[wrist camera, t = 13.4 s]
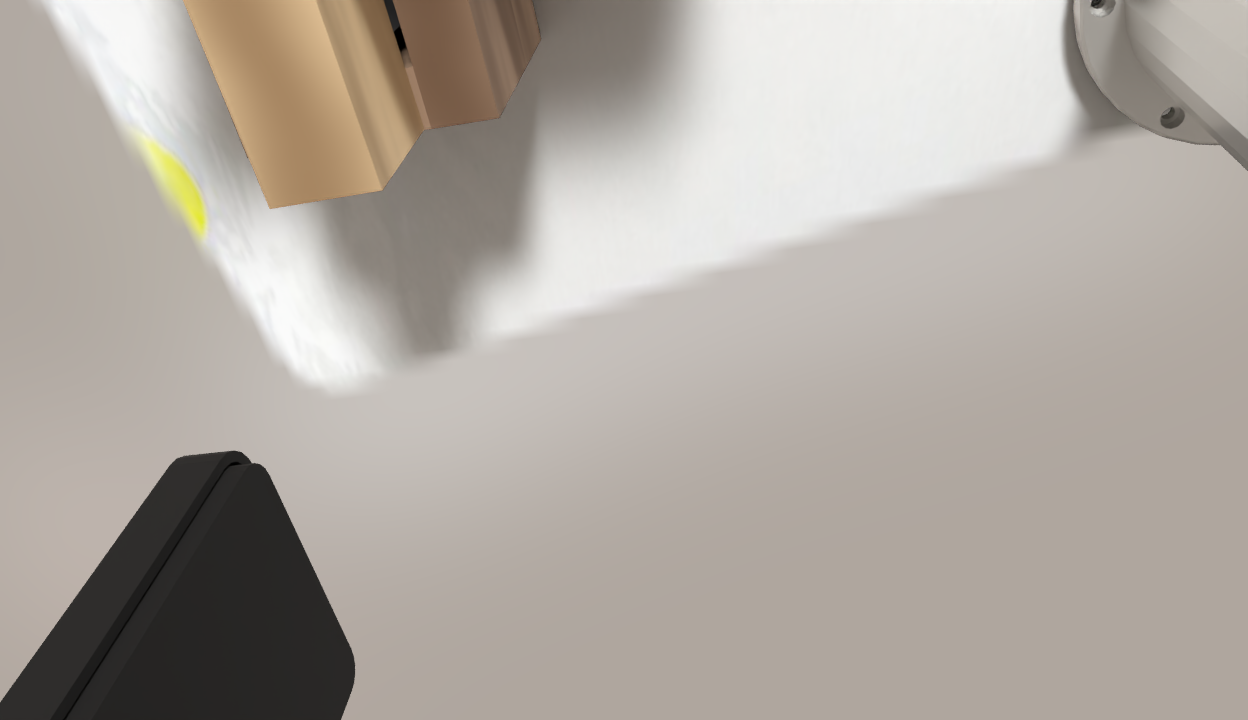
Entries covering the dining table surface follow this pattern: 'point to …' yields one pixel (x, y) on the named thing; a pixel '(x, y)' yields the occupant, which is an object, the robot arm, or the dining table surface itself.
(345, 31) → the tan grey block
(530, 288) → the dining table surface
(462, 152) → the dining table surface
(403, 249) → the dining table surface
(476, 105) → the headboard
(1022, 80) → the dining table surface
